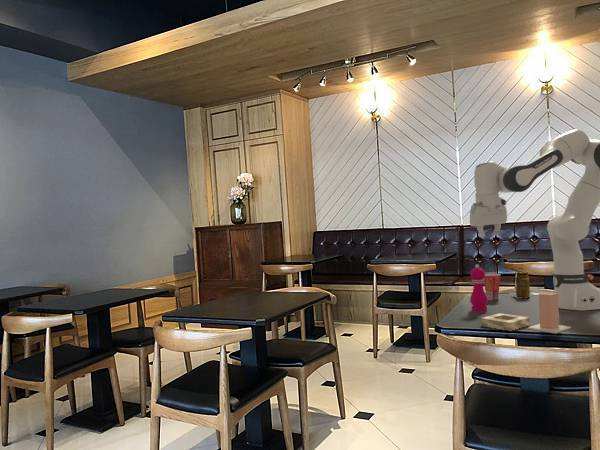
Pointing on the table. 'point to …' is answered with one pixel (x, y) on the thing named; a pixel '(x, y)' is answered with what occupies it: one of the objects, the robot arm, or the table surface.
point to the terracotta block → (548, 310)
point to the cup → (492, 285)
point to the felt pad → (555, 330)
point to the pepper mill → (478, 290)
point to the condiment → (522, 285)
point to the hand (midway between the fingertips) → (489, 236)
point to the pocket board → (505, 321)
